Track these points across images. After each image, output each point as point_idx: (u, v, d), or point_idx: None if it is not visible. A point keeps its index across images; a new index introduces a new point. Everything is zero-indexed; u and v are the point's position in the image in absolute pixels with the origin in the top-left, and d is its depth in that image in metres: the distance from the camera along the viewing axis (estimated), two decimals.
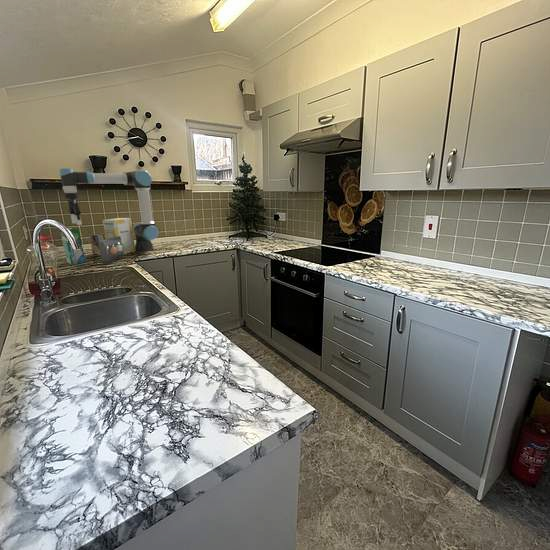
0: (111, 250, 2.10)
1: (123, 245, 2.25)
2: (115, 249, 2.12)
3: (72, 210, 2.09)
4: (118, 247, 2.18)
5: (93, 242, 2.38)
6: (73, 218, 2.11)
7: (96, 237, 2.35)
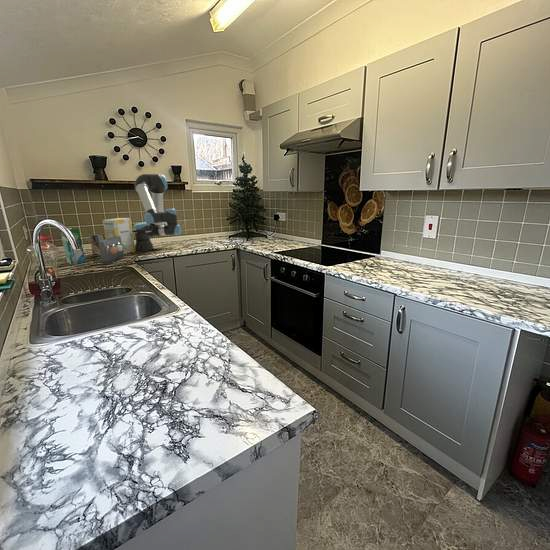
0: (111, 250, 2.10)
1: (123, 245, 2.25)
2: (115, 249, 2.12)
3: None
4: (118, 247, 2.18)
5: (93, 242, 2.38)
6: None
7: (96, 237, 2.35)
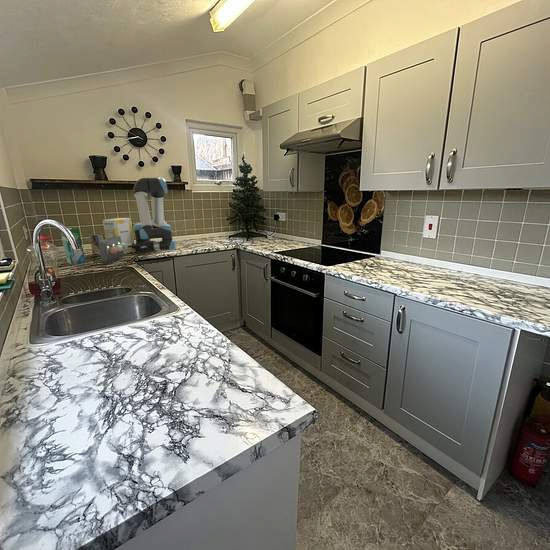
0: (111, 250, 2.10)
1: (121, 245, 2.25)
2: (115, 249, 2.12)
3: None
4: (118, 247, 2.18)
5: (93, 242, 2.38)
6: None
7: (96, 237, 2.35)
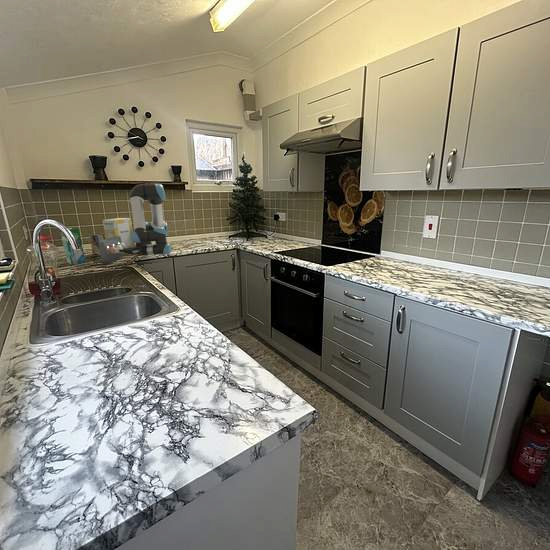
0: (110, 250, 2.10)
1: (121, 245, 2.25)
2: (114, 249, 2.12)
3: None
4: (118, 247, 2.18)
5: (93, 242, 2.38)
6: None
7: (96, 237, 2.35)
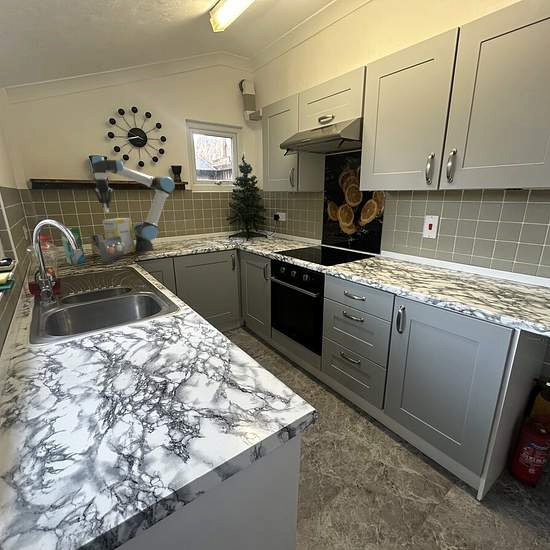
0: (109, 250, 2.10)
1: (121, 245, 2.25)
2: (113, 249, 2.12)
3: None
4: (118, 247, 2.18)
5: (93, 242, 2.38)
6: None
7: (96, 237, 2.35)
